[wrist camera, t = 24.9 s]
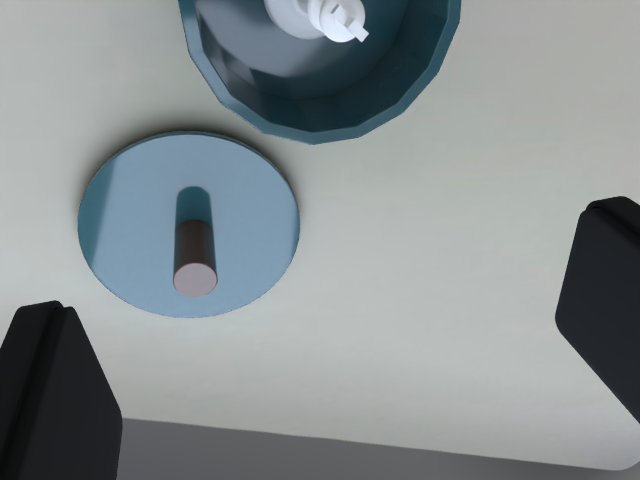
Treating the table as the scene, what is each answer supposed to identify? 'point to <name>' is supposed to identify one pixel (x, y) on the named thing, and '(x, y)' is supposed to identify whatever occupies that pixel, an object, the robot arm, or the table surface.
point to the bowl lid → (188, 224)
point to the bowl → (318, 65)
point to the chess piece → (319, 18)
